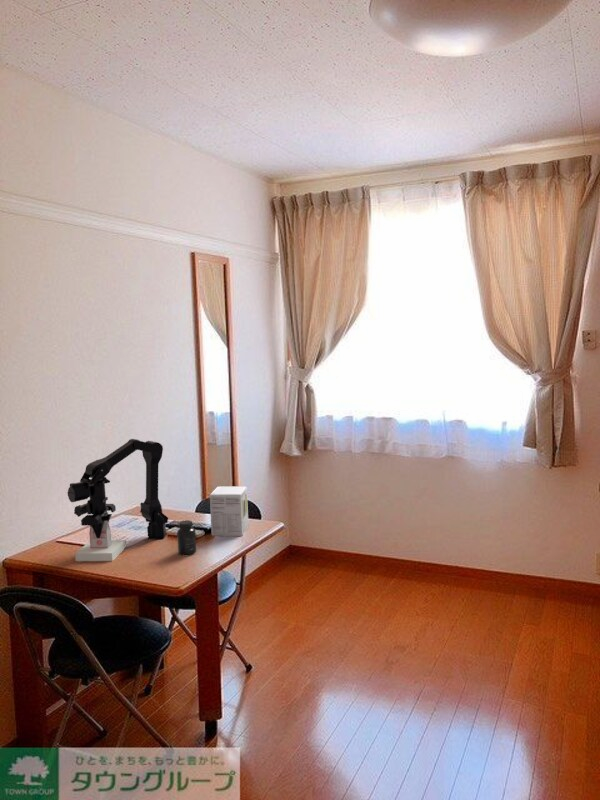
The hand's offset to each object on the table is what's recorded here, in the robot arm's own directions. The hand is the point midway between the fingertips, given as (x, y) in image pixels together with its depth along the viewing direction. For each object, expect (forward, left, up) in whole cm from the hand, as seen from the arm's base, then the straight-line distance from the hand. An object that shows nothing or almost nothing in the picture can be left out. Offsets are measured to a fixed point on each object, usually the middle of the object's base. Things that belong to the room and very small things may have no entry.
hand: (100, 536), depth 228 cm
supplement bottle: (-33, -1, -7) cm, 34 cm away
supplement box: (-45, -26, -7) cm, 52 cm away
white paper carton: (0, 0, -4) cm, 4 cm away
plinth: (0, 0, -7) cm, 7 cm away
